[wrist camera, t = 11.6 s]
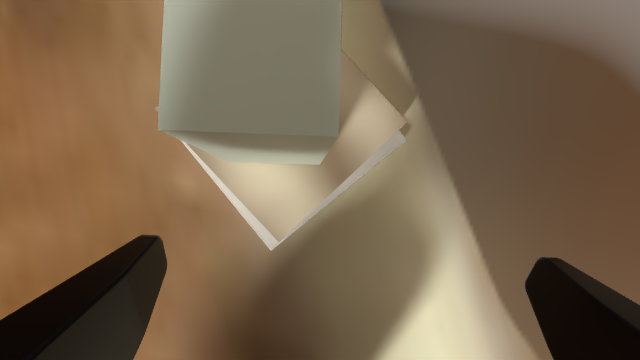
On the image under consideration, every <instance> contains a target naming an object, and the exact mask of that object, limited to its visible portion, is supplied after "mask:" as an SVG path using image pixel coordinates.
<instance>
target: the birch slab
mask: <svg viewBox="0 0 640 360" xmlns="http://www.w3.org/2000/svg"><path fill="white" fill-rule="evenodd" d="M155 110H156V112H157V113H158V114H159V105H158V106H157V107H156V108H155ZM406 123H407V121H406V120H405V119H404V118H403V117H402V116H401V114H400V113H399V112H398V111H397V110H396V109H395V108H394V107H393V106H392V105H391V103H390V102H389V101H388V100H387V99H386V98H385V97H384V96H383V95H382V94H381V92H380V91H379V90H378V89H377V88H376V87H375V86H374V85H373V84H372V83H371V81H370V80H369V79H368V78H367V77H366V76H365V75H364V74H363V73H362V72H361V70H360V69H359V68H358V67H357V66H356V65H355V64H354V63H353V62H352V61H351V59H350V58H349V57H348V56H347V55H346V54H345V53H344V52H343V51H342V50H341V59H340V100H339V137H338V138H337V140H336V141H335V143H334V144H333V146H332V147H331V149H330V150H329V152H328V153H327V155H326V156H325V158H324V159H323V161H322V162H321V164H320V165H304V164H273V163H242V162H228V161H225V160H223V159H221V158H219V157H217V156H214V155H212V154H210V153H208V152H206V151H203V150H201V149H199V148H197V147H195V146H192V145H190V144H188V143H186V142H185V143H186V144H187V145H188V146H189V147H190V148H191V149H192V150H193V151H194V152H195V153H196V154H197V155H198V156H199V158H200V159H201V160H202V161H203V162H204V163H205V164H206V165H207V166H208V167H209V168H210V169H211V170H212V171H213V172H214V174H215V175H216V176H217V177H218V178H219V179H220V180H221V181H222V182H223V183H224V184H225V185H226V186H227V187H228V189H229V190H230V191H231V192H232V193H233V194H234V195H235V196H236V197H237V198H238V199H239V200H240V201H241V202H242V203H243V205H244V206H245V207H246V208H247V209H248V210H249V211H250V212H251V213H252V214H253V215H254V216H255V217H256V218H257V220H258V221H259V222H260V223H261V224H262V225H263V226H264V227H265V228H266V229H267V230H268V231H269V232H270V233H271V234H272V236H273V237H274V238H275V239H276V240H277V241H278V242H280V241H281V240H282V239H283V238H284V237H285V236H286V235H287V234H288V233H289V232H290V231H291V230H292V229H293V228H295V227H296V226H297V225H298V224H299V223H300V222H301V221H302V220H303V219H304V218H305V217H306V216H307V215H308V214H310V213H311V212H312V211H313V210H314V209H315V208H316V207H317V206H318V205H319V204H320V203H321V202H322V201H323V200H325V199H326V198H327V197H328V196H329V195H330V194H331V193H332V192H333V191H334V190H335V189H336V188H337V187H338V186H340V185H341V184H342V183H343V182H344V181H345V180H346V179H347V178H348V177H349V176H350V175H351V174H352V173H353V172H355V171H356V170H357V169H358V168H359V167H360V166H361V165H362V164H363V163H364V162H365V161H366V160H367V159H368V158H370V157H371V156H372V155H373V154H374V153H375V152H376V151H377V150H378V149H379V148H380V147H381V146H382V145H383V144H385V143H386V142H387V141H388V140H389V139H390V138H391V137H392V136H393V135H394V134H395V133H396V132H397V131H398V130H400V129H401V128H402V127H403V126H404V125H405V124H406Z"/></svg>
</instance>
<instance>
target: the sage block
mask: <svg viewBox="0 0 640 360" xmlns="http://www.w3.org/2000/svg"><path fill="white" fill-rule="evenodd" d="M341 18H342V0H164V18H163V38H162V58H161V78H160V98H159V118H158V130H159V131H162V132H164V133H166V134H168V135H170V136H173V137H175V138H177V139H179V140H181V141H184V142H186V143H188V144H190V145H192V146H195V147H197V148H199V149H201V150H203V151H206V152H208V153H210V154H212V155H214V156H217V157H219V158H221V159H223V160H225V161H228V162H242V163H273V164H304V165H320V164H321V162H322V161H323V159H324V158H325V156H326V155H327V153H328V152H329V150H330V149H331V147H332V146H333V144H334V143H335V141H336V140H337V138H338V137H339V100H340V59H341Z"/></svg>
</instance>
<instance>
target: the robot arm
mask: <svg viewBox="0 0 640 360" xmlns="http://www.w3.org/2000/svg"><path fill="white" fill-rule="evenodd" d="M166 270H167V259H166V254H165V250H164V245H163V241H162V238H161V237H160V236H157V235H141V236H139V237H137V238H135V239H133V240H132V241H130V242H129V243H127V244H125V245H124V246H122V247H120V248H119V249H117V250H115V251H114V252H112V253H110V254H109V255H107V256H105V257H104V258H102V259H100V260H99V261H97V262H96V263H94V264H92V265H91V266H89V267H87V268H86V269H84V270H82V271H81V272H79V273H77V274H76V275H74V276H72V277H71V278H69V279H67V280H66V281H64V282H63V283H61V284H59V285H58V286H56V287H54V288H53V289H51V290H49V291H48V292H46V293H44V294H43V295H41V296H39V297H38V298H36V299H34V300H33V301H31V302H30V303H28V304H26V305H25V306H23V307H21V308H20V309H18V310H16V311H15V312H13V313H11V314H10V315H8V316H6V317H5V318H3V319H1V320H0V360H133V359H134V357H135V354H136V352H137V350H138V348H139V346H140V344H141V341H142V339H143V337H144V334H145V332H146V329H147V326H148V323H149V321H150V318H151V315H152V312H153V309H154V306H155V303H156V300H157V297H158V294H159V291H160V288H161V285H162V282H163V279H164V277H165V274H166ZM525 289H526V292H527V295H528V298H529V300H530V302H531V305H532V308H533V310H534V313H535V316H536V318H537V321H538V323H539V326H540V328H541V331H542V333H543V336H544V339H545V341H546V344H547V346H548V348H549V351H550V353H551V355H552V357H553V359H554V360H640V305H638V304H637V303H635V302H633V301H632V300H630V299H628V298H626V297H625V296H623V295H621V294H620V293H618V292H616V291H615V290H613V289H611V288H609V287H608V286H606V285H604V284H602V283H601V282H599V281H597V280H596V279H594V278H592V277H591V276H589V275H587V274H585V273H584V272H582V271H580V270H579V269H577V268H575V267H573V266H571V265H570V264H568V263H566V262H565V261H563V260H561V259H559V258H552V257H551V258H550V257H541V258H539V259H538V260H537V261H536V263H535V264H534V266H533V268H532V270H531V272H530V273H529V275H528V277H527V279H526V281H525Z"/></svg>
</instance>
